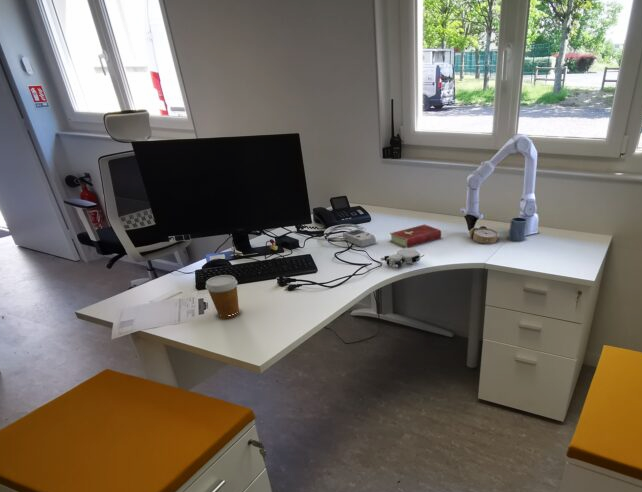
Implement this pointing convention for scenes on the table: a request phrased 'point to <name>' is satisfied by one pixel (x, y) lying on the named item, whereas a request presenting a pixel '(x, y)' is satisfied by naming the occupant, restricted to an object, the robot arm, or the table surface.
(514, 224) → the pen pot
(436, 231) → the hardcover book
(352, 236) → the handheld gaming device
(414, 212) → the table surface
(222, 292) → the disposable coffee cup
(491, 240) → the alarm clock
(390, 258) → the robot toy
